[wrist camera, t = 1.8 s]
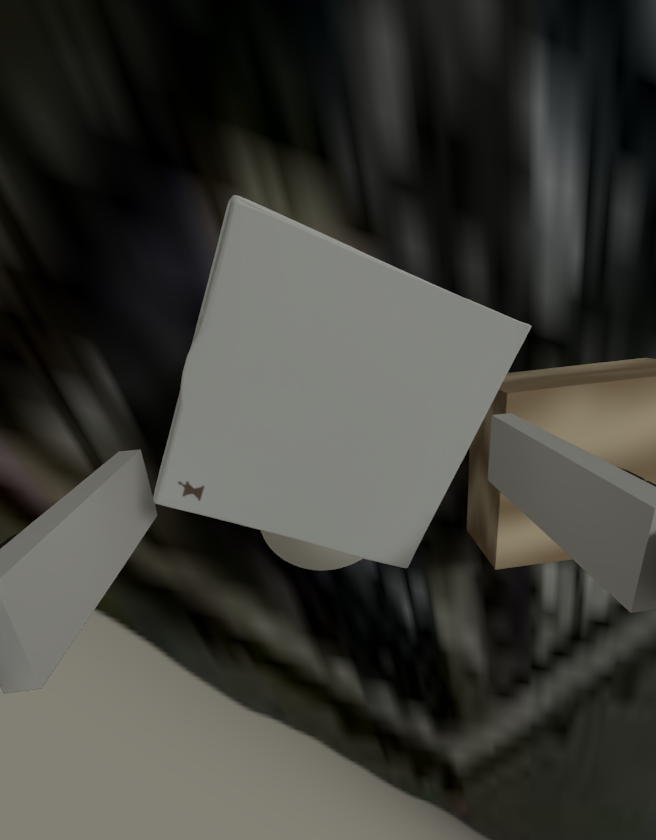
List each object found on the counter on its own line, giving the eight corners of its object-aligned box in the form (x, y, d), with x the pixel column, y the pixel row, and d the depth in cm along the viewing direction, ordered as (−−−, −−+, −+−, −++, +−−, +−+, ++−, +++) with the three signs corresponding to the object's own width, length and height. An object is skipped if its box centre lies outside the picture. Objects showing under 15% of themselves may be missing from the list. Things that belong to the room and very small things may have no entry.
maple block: (470, 376, 26) (507, 393, 21) (641, 357, 27) (715, 369, 22) (464, 527, 30) (495, 569, 26) (613, 508, 31) (669, 546, 26)
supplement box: (350, 430, 26) (409, 582, 12) (230, 390, 25) (139, 512, 11) (401, 308, 24) (547, 324, 10) (271, 255, 22) (222, 183, 8)
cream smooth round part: (251, 455, 26) (249, 462, 25) (385, 442, 27) (389, 448, 26) (268, 566, 30) (267, 577, 29) (388, 552, 30) (392, 562, 29)
